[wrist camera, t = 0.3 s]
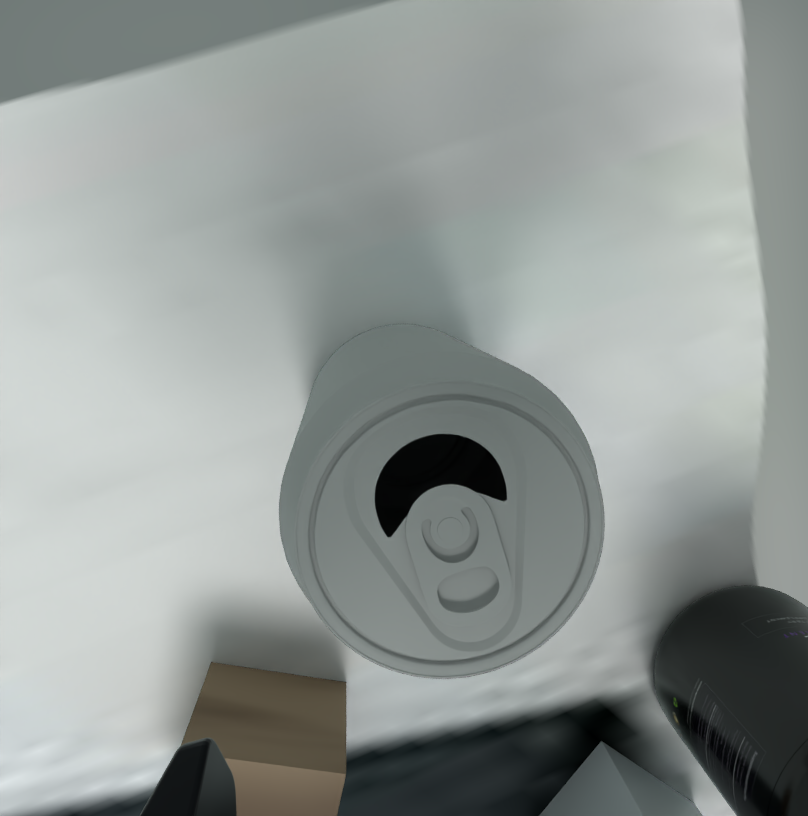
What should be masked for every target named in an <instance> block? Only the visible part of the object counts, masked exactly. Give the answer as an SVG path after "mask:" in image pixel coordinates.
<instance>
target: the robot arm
mask: <svg viewBox="0 0 808 816" xmlns="http://www.w3.org/2000/svg"><path fill="white" fill-rule="evenodd" d="M140 816H237V812H236V790H235V782H234V778H233V774H232V772H231V770H230V768H229V766H228V764H227V762H226V760H225V759H224V757H223V755H222V753H221V751H220V749H219V747H218V745H217V744H216V742H215V741H214V740H213V739H212V738H203V739H199V740H196V741H192V742H188V743H185V744H183V745H182V746H180V747H179V749H178V750H177V751H176V753H175V754H174V756H173V758H172V760H171V761H170V763H169V765H168V767H167V768H166V770H165V772H164V774H163V775H162V777H161V779H160V781H159V782H158V784H157V786H156V788H155V789H154V791H153V793H152V795H151V797H150V798H149V800H148V802H147V804H146V805H145V807H144V809H143V811H142V812H141V814H140Z"/></svg>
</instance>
